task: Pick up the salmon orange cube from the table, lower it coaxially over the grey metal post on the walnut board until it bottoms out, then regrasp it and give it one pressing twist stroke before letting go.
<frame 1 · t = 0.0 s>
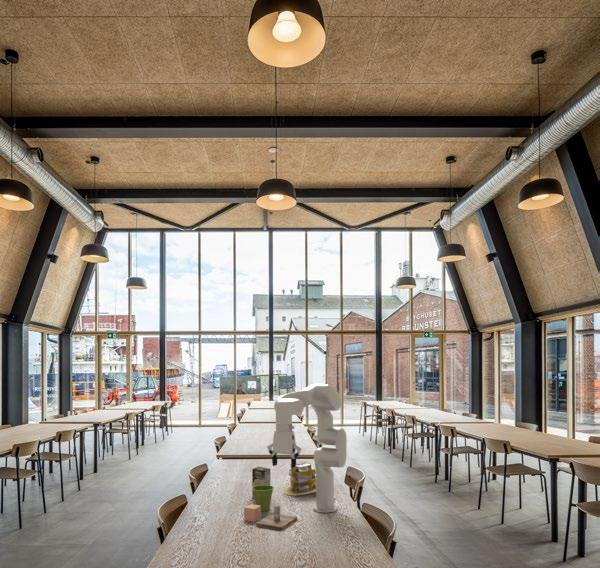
hand: (284, 466, 228), 31 cm above the table, tool pointing down, fingers open, 9 cm apart
salmon orange cube: (252, 519, 250), on the table
post board: (277, 523, 244), on the table
plant pot: (263, 510, 265), on the table
coffee box: (261, 498, 286), on the table
plate with layered stack: (304, 491, 298), on the table
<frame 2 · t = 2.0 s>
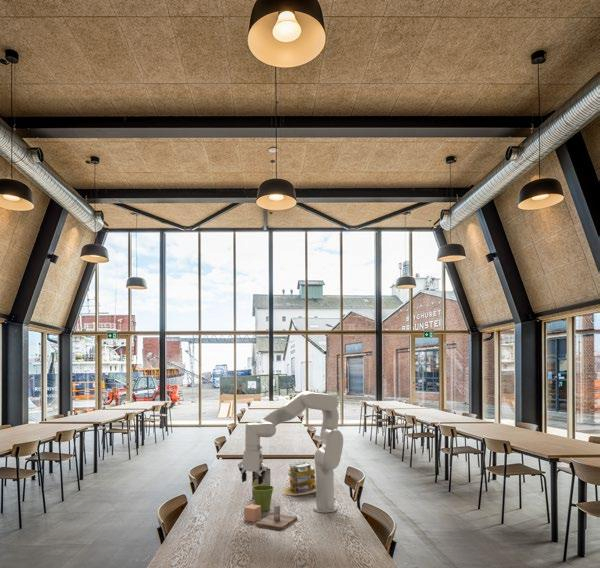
hand: (252, 482, 252), 18 cm above the table, tool pointing down, fingers open, 9 cm apart
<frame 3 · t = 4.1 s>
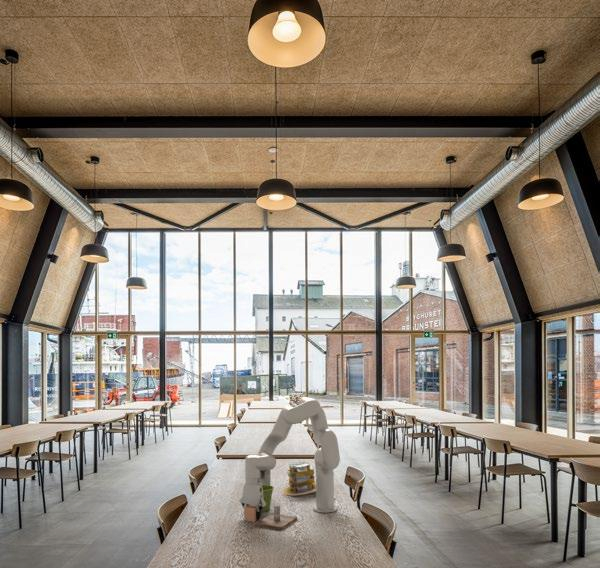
hand: (252, 517, 250), 1 cm above the table, tool pointing down, fingers closed on salmon orange cube, 5 cm apart
salmon orange cube: (252, 519, 250), on the table, touching gripper
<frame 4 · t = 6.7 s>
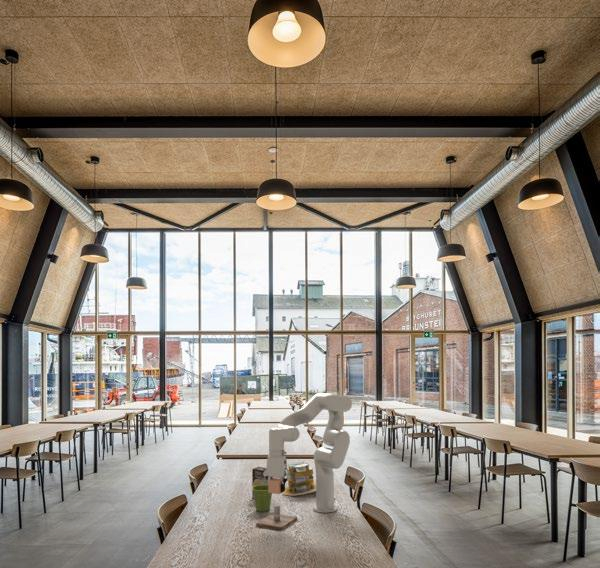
hand: (276, 490, 246), 15 cm above the table, tool pointing down, fingers closed on salmon orange cube, 5 cm apart
salmon orange cube: (276, 491, 246), point 15 cm above the table, touching gripper
when the fingers open (5 cm above the table, at t = 9.3 s): salmon orange cube drops 2 cm, resting on post board.
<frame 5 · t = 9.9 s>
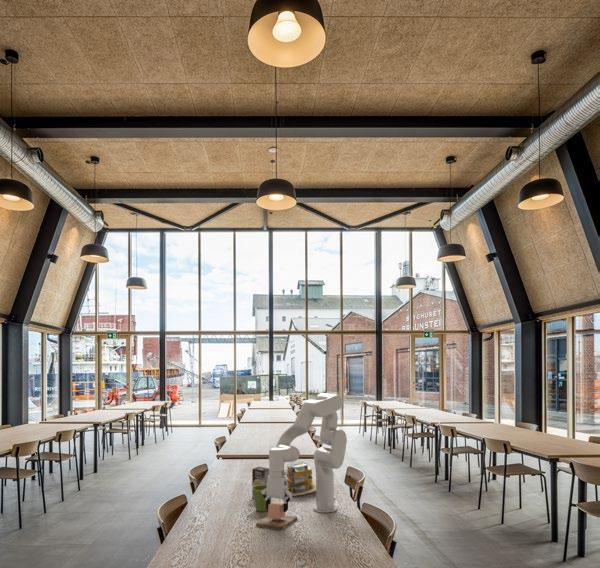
hand: (276, 509, 245), 6 cm above the table, tool pointing down, fingers open, 9 cm apart
salmon orange cube: (276, 516, 244), point 3 cm above the table, touching post board
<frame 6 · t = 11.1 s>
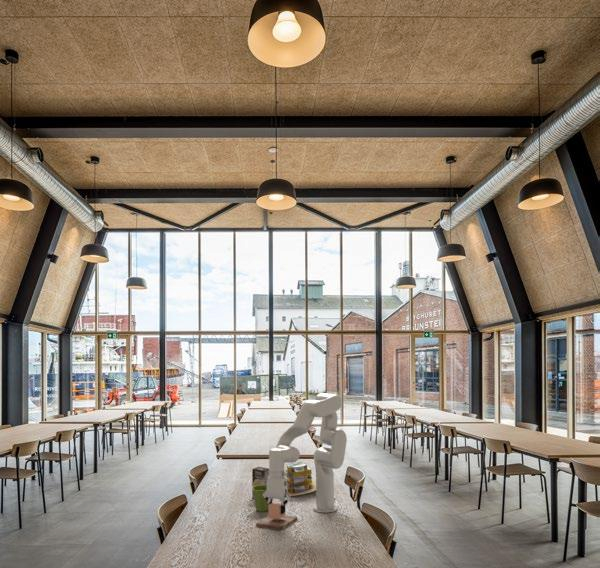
hand: (276, 512, 244), 5 cm above the table, tool pointing down, fingers closed on salmon orange cube, 6 cm apart
salmon orange cube: (277, 516, 244), point 3 cm above the table, touching gripper, post board
when the fingers open (5 cm above the table, at t = 13.0 s): salmon orange cube stays where it is, resting on post board.
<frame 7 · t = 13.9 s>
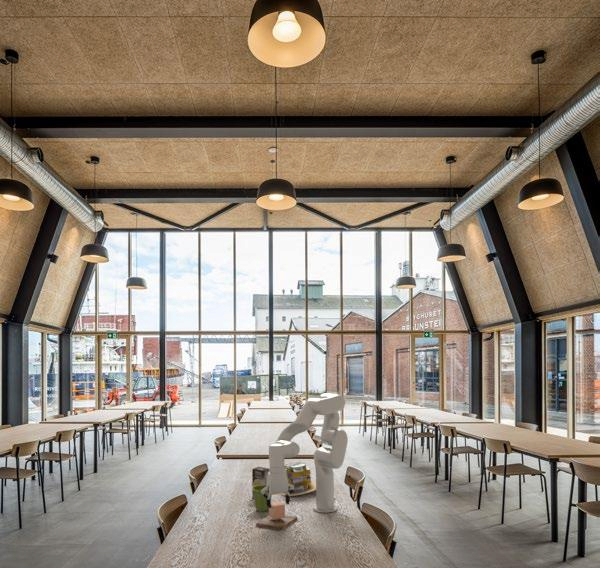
hand: (278, 505, 245), 8 cm above the table, tool pointing down, fingers open, 9 cm apart
salmon orange cube: (277, 516, 244), point 3 cm above the table, touching post board
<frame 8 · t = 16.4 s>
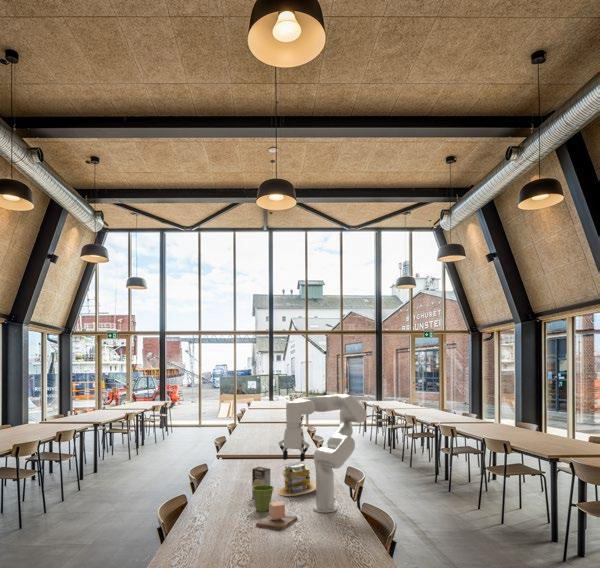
hand: (293, 460, 253), 28 cm above the table, tool pointing down, fingers open, 9 cm apart
at the end: salmon orange cube 0.0 cm off-centre on the post board, point 3.0 cm above the post board's base; salmon orange cube tilted 0°; the gripper is holding nothing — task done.
